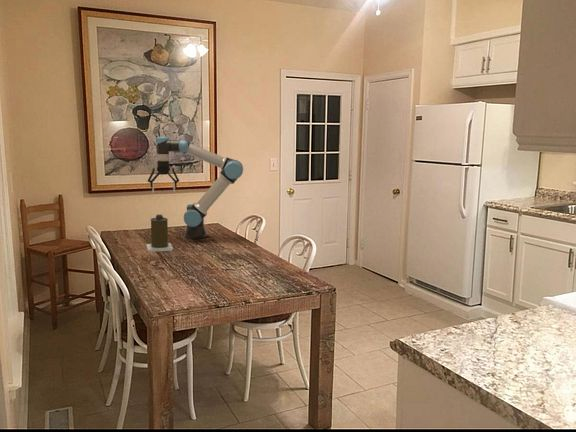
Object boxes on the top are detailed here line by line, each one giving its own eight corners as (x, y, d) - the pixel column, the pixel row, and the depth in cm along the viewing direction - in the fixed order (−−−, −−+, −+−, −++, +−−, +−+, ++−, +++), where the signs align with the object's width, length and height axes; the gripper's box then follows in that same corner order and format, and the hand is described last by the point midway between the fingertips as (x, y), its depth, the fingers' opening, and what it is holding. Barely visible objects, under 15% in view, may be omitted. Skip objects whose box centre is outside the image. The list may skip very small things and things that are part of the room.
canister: (165, 248, 302) (165, 216, 298) (148, 247, 302) (148, 216, 298) (170, 244, 312) (169, 213, 309) (154, 243, 313) (153, 213, 309)
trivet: (170, 245, 317) (170, 242, 317) (173, 250, 303) (172, 248, 303) (146, 246, 312) (146, 243, 312) (147, 252, 298) (147, 249, 298)
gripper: (181, 160, 328) (182, 191, 331) (143, 160, 320) (143, 192, 323) (183, 161, 321) (183, 192, 325) (143, 160, 313) (144, 193, 316)
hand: (163, 192), depth 324 cm, fingers open, 13 cm apart
